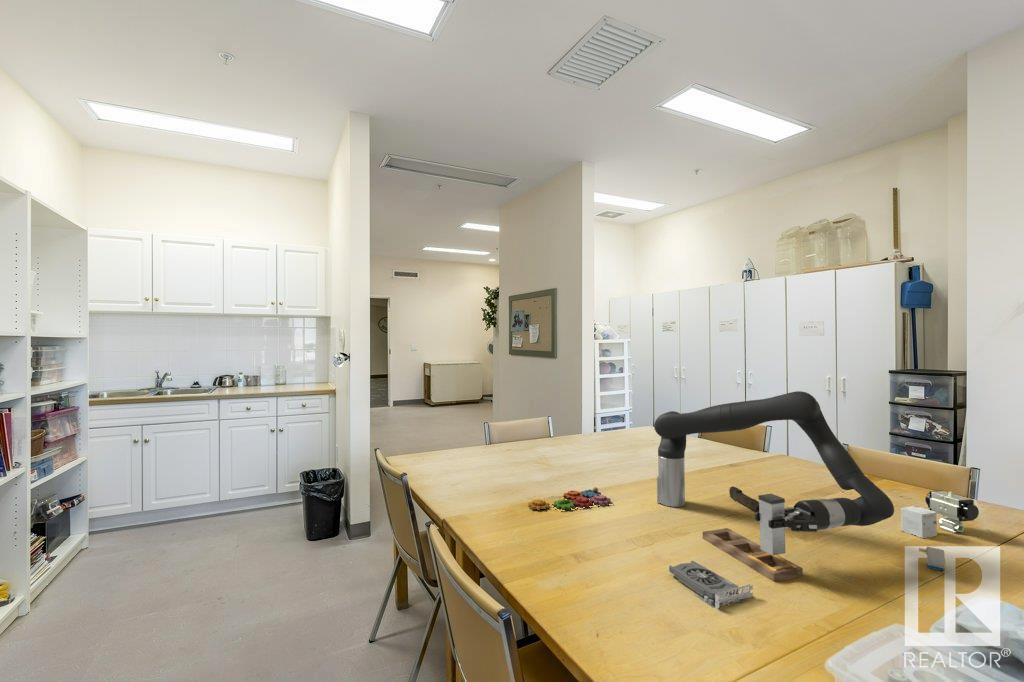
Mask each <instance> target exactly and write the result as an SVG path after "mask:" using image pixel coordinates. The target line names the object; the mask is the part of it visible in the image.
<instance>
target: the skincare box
mask: <svg viewBox="0 0 1024 682" xmlns="http://www.w3.org/2000/svg"><path fill="white" fill-rule="evenodd" d="M900 520H901V521H900V525H901V526H900V530H901V532H903V531H904V532H903V533H906V532H907V533H906V534H908V533H909V535H911V534H913V535H912V536H914V535H916V536H915V537H917V536H918V537H917V538H920V537H921V538H920V539H926V538H927V537H929V538H934V536H936V537H937V535H938V533H937V530H938V529H937V525H938V521H937V513H936V512H934V511H931V510H930V509H928V508H927V509H926V508H923V507H920V506H916V505H911V506H905V507H901V509H900ZM927 539H928V538H927Z"/></svg>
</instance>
